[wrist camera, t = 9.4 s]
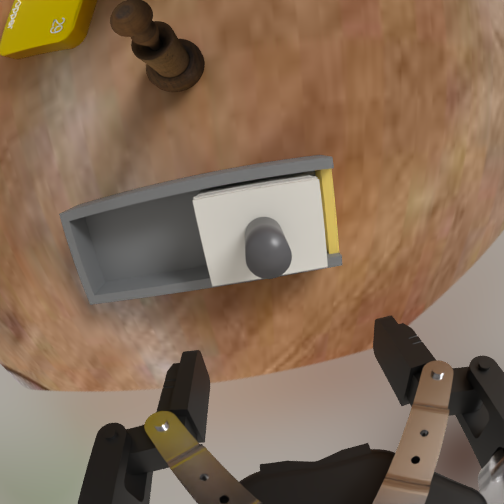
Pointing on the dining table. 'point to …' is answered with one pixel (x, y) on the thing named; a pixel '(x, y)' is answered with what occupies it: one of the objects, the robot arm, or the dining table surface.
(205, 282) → the bay
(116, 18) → the brown wooden tall piece
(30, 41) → the element tile
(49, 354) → the dining table surface
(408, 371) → the robot arm
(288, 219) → the white plate with knob
